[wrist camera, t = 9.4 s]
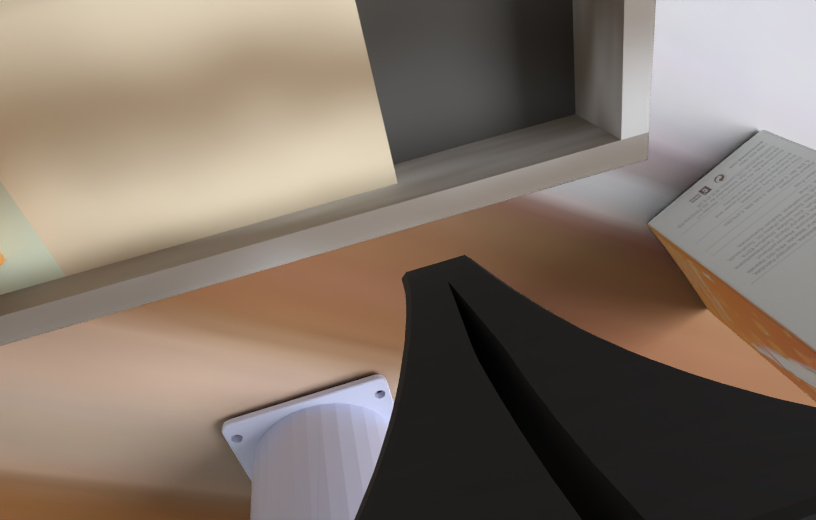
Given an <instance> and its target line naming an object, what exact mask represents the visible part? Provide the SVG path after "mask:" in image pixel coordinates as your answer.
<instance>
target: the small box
mask: <svg viewBox="0 0 816 520" xmlns="http://www.w3.org/2000/svg"><path fill="white" fill-rule="evenodd" d="M648 227H649V228H650V229H651V230H652V232H653V233H654V234H655V235H656V237H657V238H658V239H659V240H660V242H661V243H662V244H663V245H664V247H665V248H666V249H667V251H668V252H669V254H670V255H671V256H672V258H673V259H674V261H675V262H676V263H677V265H678V266H679V267H680V269H681V270H682V272H683V273H684V275H685V276H686V277H687V279H688V280H689V282H690V283H691V285H692V286H693V288H694V289H695V291H696V292H697V293H698V295H699V296H700V298H701V299H702V301H703V302H704V304H705V305H706V307H707V309H708V310H709V311H710V312H711V313H712V314H713V315H714V316H715V317H717V318H718V319H719V320H720V321H721V322H723V323H724V324H725V325H726V326H727V327H729V328H730V329H731V330H732V331H733V332H735V333H736V334H737V335H738V336H739V337H740V338H741V339H743V340H744V341H745V342H746V343H747V344H749V345H750V346H751V347H752V348H753V349H754V350H756V351H757V352H758V353H759V354H760V355H762V356H763V357H764V358H765V359H766V360H768V361H769V362H770V363H771V364H772V365H773V366H775V367H776V368H777V369H778V370H779V371H780V372H781V373H783V374H784V375H785V376H786V377H787V378H789V379H790V380H791V381H792V382H793V383H794V384H796V385H797V386H798V387H799V388H800V389H801V390H802V391H804V392H805V393H806V394H807V395H808V396H809V397H811V398H812V399H813V400H814V401H815V402H816V150H814V149H811V148H809V147H806V146H803V145H801V144H798V143H796V142H793V141H791V140H788V139H785V138H783V137H780V136H778V135H775V134H773V133H771V132H768V131H766V130H762V131H760V132H758V133H757V134H756V135H754V136H753V137H752V138H751V139H749V140H748V141H747V142H745V143H744V144H743V145H742V146H740V147H739V148H738V149H737V150H736V151H734V152H733V153H732V154H731V155H729V156H728V157H727V158H726V159H724V160H723V161H722V162H721V163H720V164H718V165H717V166H716V167H715V168H713V169H712V170H711V171H710V172H709V173H707V174H706V175H705V176H704V177H703V178H701V179H700V180H699V181H698V182H696V183H695V184H694V185H693V186H692V187H690V188H689V189H688V190H687V191H685V192H684V193H683V194H682V195H681V196H679V197H678V198H677V199H676V200H675V201H673V202H672V203H671V204H670V205H669V206H667V207H666V208H665V209H664V210H663V211H661V212H660V213H659V214H658V215H657V216H655V217H654V218H653V219H652V220H651V221H650V222H649V223H648Z"/></svg>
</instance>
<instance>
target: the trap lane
mask: <svg viewBox="0 0 816 520" xmlns="http://www.w3.org/2000/svg"><path fill="white" fill-rule="evenodd" d="M655 6H656V0H0V253H1V254H2V255H3V257H4V258H5V259H6V261H5V262H4V263H3V264H2V266H1V267H0V346H2V345H5V344H9V343H12V342H16V341H19V340H22V339H26V338H29V337H33V336H36V335H40V334H43V333H47V332H50V331H54V330H57V329H61V328H64V327H68V326H71V325H75V324H78V323H81V322H85V321H88V320H92V319H95V318H99V317H102V316H106V315H109V314H113V313H116V312H120V311H123V310H127V309H130V308H134V307H137V306H141V305H144V304H147V303H151V302H154V301H158V300H161V299H165V298H168V297H172V296H175V295H179V294H182V293H186V292H189V291H193V290H196V289H200V288H203V287H207V286H210V285H213V284H217V283H220V282H224V281H227V280H231V279H234V278H238V277H241V276H245V275H248V274H252V273H255V272H259V271H262V270H266V269H269V268H273V267H276V266H279V265H283V264H286V263H290V262H293V261H297V260H300V259H304V258H307V257H311V256H314V255H318V254H321V253H325V252H328V251H332V250H335V249H339V248H342V247H345V246H349V245H352V244H356V243H359V242H363V241H366V240H370V239H373V238H377V237H380V236H384V235H387V234H391V233H394V232H398V231H401V230H405V229H408V228H411V227H415V226H418V225H422V224H425V223H429V222H432V221H436V220H439V219H443V218H446V217H450V216H453V215H457V214H460V213H464V212H467V211H471V210H474V209H477V208H481V207H484V206H488V205H491V204H495V203H498V202H502V201H505V200H509V199H512V198H516V197H519V196H523V195H526V194H530V193H533V192H537V191H540V190H543V189H547V188H550V187H554V186H557V185H561V184H564V183H568V182H571V181H575V180H578V179H582V178H585V177H589V176H592V175H596V174H599V173H603V172H606V171H609V170H613V169H616V168H620V167H623V166H627V165H630V164H634V163H637V162H641V161H644V160H647V158H648V139H649V120H650V101H651V82H652V63H653V44H654V25H655Z"/></svg>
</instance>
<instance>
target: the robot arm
mask: <svg viewBox="0 0 816 520" xmlns="http://www.w3.org/2000/svg"><path fill="white" fill-rule="evenodd" d="M402 282H403V286H404V289H405V294H406V331H405V344H404V352H403V358H402V365H401V372H400V378H399V383H398V388H397V393H396V397H395V402H394V401H393V398H392V395H391V392H390V389H389V385H388V382H387V379H386V378H385V376H383V375H380V374H377V375H372V376H369V377H366V378H362V379H359V380H356V381H353V382H349V383H346V384H343V385H340V386H336V387H333V388H330V389H327V390H323V391H320V392H317V393H314V394H310V395H307V396H304V397H301V398H297V399H294V400H291V401H287V402H284V403H281V404H278V405H274V406H271V407H268V408H265V409H261V410H258V411H255V412H252V413H248V414H245V415H242V416H239V417H235V418H232V419H229V420H227V421H225V422H224V423H223V426H222V434H223V436H224V438H225V439H226V441H227V443H228V444H229V446H230V448H231V449H232V451H233V452H234V454H235V456H236V457H237V459H238V461H239V462H240V464H241V466H242V467H243V469H244V470H245V472H246V474H247V475H248V477H249V479H250V480H251V482H252V493H251V514H250V520H816V407H812V406H807V405H803V404H798V403H794V402H789V401H785V400H780V399H777V398H773V397H769V396H765V395H762V394H758V393H754V392H751V391H747V390H744V389H740V388H736V387H733V386H729V385H726V384H722V383H719V382H716V381H713V380H709V379H706V378H703V377H700V376H697V375H693V374H690V373H687V372H685V371H682V370H679V369H676V368H673V367H671V366H668V365H665V364H662V363H659V362H657V361H654V360H651V359H648V358H646V357H643V356H641V355H638V354H636V353H633V352H631V351H628V350H626V349H624V348H621V347H619V346H617V345H615V344H612V343H610V342H608V341H606V340H603V339H601V338H599V337H597V336H594V335H592V334H590V333H588V332H586V331H584V330H582V329H580V328H578V327H576V326H575V325H573V324H571V323H569V322H567V321H565V320H564V319H562V318H560V317H558V316H556V315H555V314H553V313H551V312H549V311H548V310H546V309H544V308H543V307H541V306H539V305H538V304H536V303H535V302H533V301H531V300H530V299H528V298H527V297H525V296H523V295H522V294H520V293H519V292H517V291H516V290H514V289H513V288H511V287H510V286H508V285H507V284H505V283H504V282H502V281H501V280H499V279H498V278H497V277H495V276H494V275H492V274H491V273H490V272H488V271H487V270H485V269H484V268H483V267H481V266H480V265H479V264H477V263H476V262H475V261H473V260H472V259H471V258H469V257H467V256H465V255H463V256H460V257H457V258H453V259H450V260H446V261H443V262H440V263H436V264H433V265H429V266H426V267H423V268H419V269H416V270H412V271H409V272H406V273H405V275H404V276H403V278H402ZM380 390H382V392H379V393H377V391H380ZM234 435H240V436H234Z"/></svg>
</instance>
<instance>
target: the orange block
mask: <svg viewBox="0 0 816 520" xmlns="http://www.w3.org/2000/svg"><path fill="white" fill-rule="evenodd" d="M5 261H6V259H5V258H4V257H3V255H2V254H1V253H0V267H1V266H2V264H3V263H4V262H5Z"/></svg>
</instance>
